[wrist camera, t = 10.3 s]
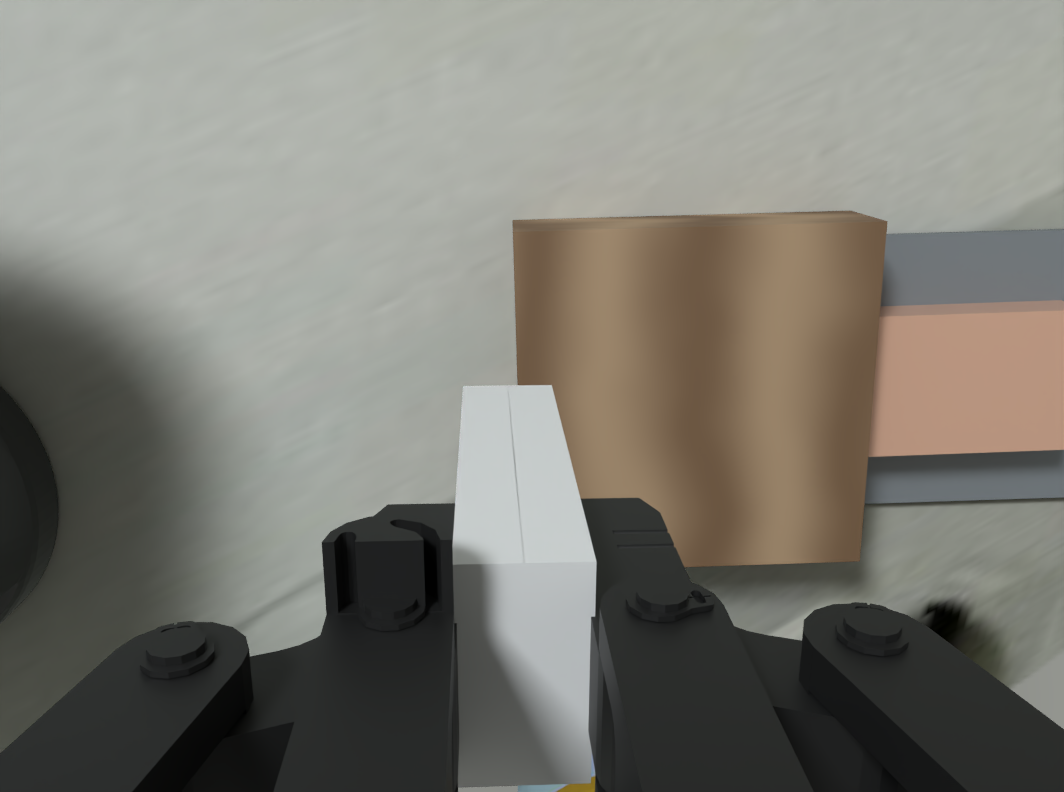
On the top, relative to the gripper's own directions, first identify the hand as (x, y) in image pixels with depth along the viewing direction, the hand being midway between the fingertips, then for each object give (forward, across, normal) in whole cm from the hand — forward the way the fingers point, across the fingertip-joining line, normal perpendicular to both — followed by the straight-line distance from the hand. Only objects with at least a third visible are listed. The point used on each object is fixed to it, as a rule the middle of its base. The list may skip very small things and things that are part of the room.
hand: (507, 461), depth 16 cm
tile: (+23, +20, -5) cm, 31 cm away
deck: (+24, +8, -5) cm, 26 cm away
